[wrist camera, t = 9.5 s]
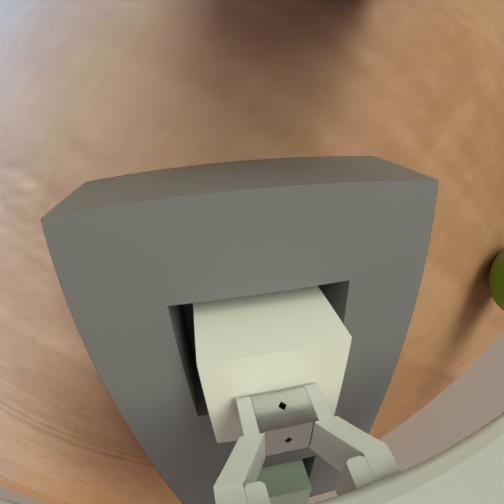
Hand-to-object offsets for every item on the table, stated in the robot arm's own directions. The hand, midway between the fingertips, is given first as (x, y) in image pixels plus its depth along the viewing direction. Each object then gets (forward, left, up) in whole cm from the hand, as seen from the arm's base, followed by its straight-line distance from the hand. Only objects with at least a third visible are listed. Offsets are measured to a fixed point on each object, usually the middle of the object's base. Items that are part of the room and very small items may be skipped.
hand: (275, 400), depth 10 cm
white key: (0, 0, -5) cm, 5 cm away
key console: (0, +7, -7) cm, 10 cm away
